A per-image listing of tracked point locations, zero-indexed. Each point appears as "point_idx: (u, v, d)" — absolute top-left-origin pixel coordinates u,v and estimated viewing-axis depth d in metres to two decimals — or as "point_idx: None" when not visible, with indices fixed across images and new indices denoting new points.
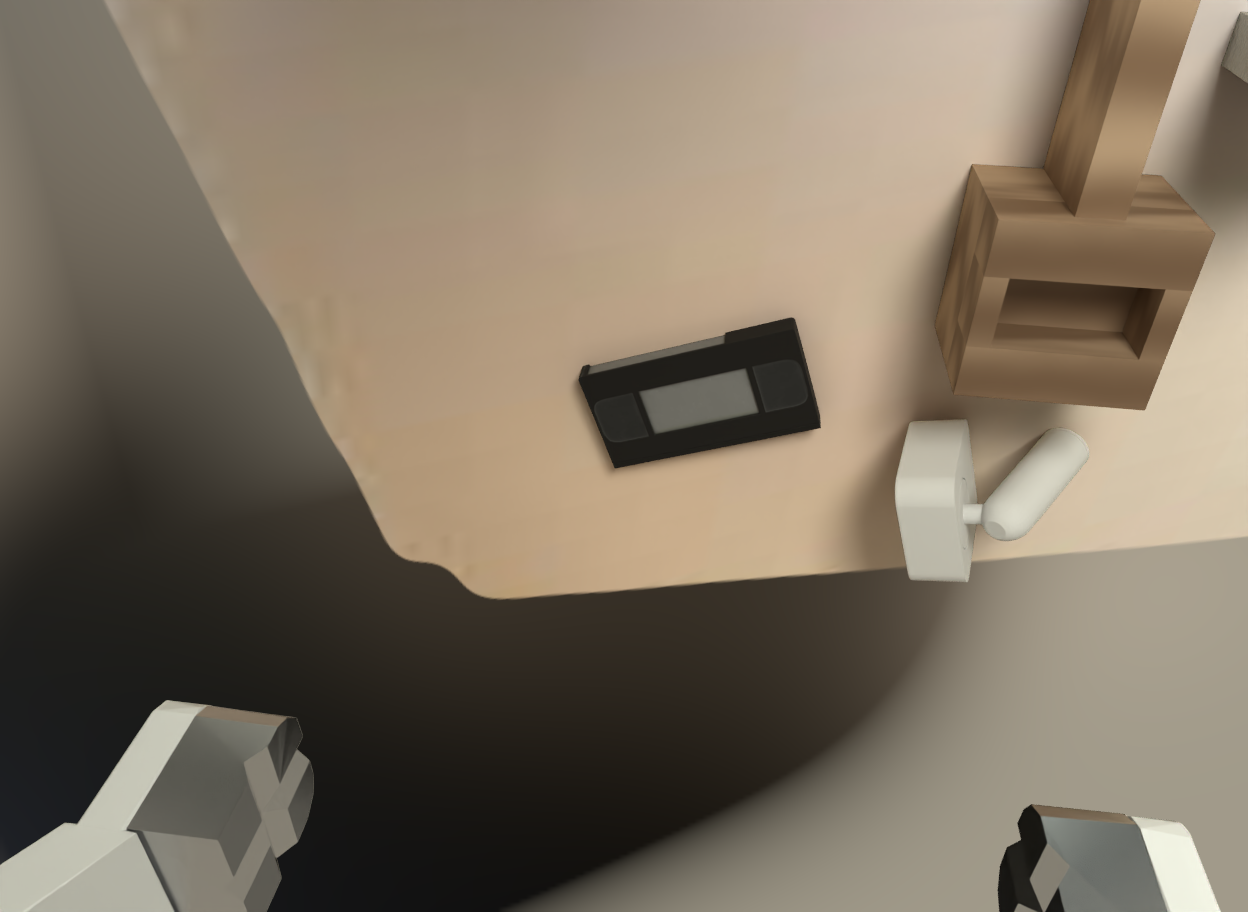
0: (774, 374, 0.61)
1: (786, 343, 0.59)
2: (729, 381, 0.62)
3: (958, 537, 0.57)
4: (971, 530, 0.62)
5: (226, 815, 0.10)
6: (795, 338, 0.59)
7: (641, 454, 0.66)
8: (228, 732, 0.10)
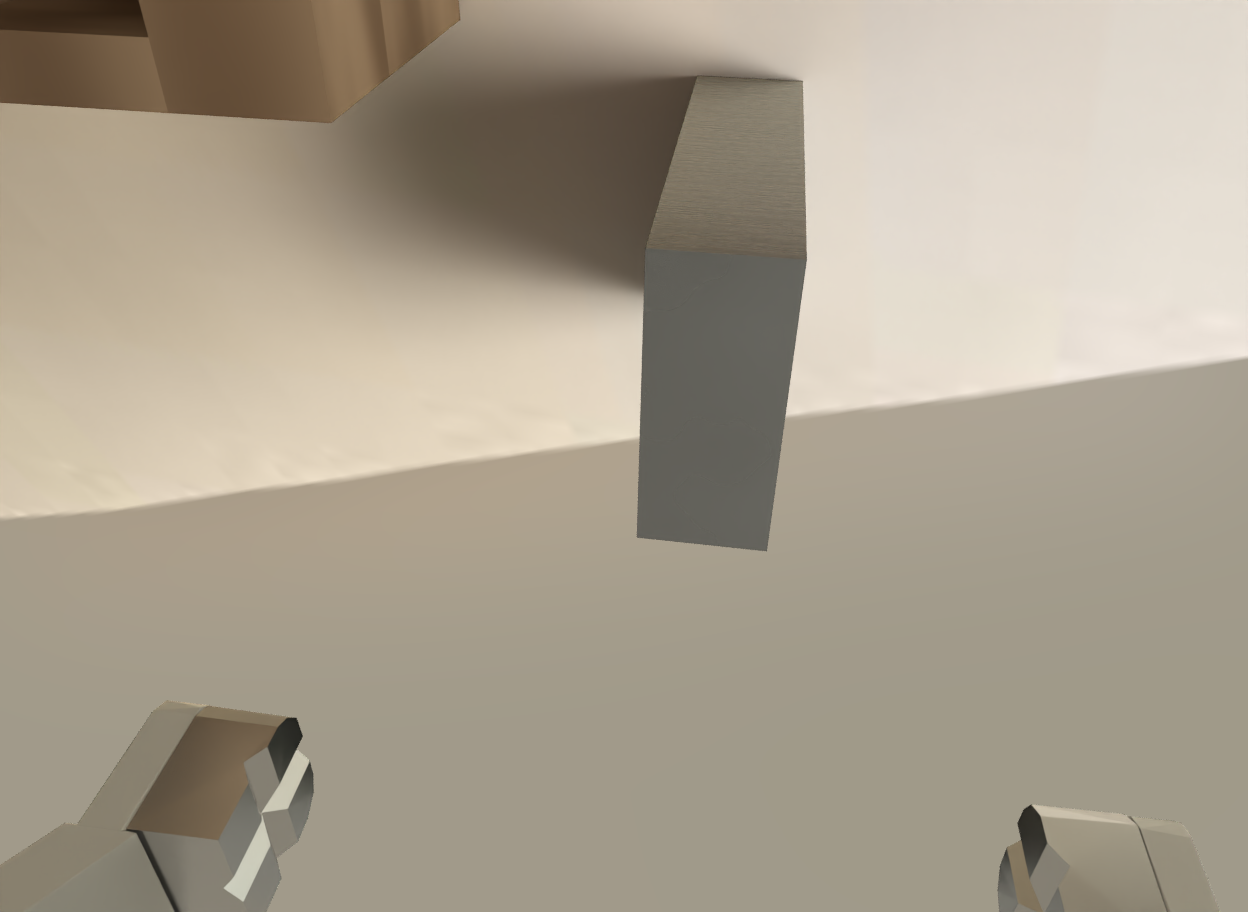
0: None
1: None
2: None
3: None
4: None
5: (226, 815, 0.10)
6: None
7: None
8: (228, 732, 0.10)
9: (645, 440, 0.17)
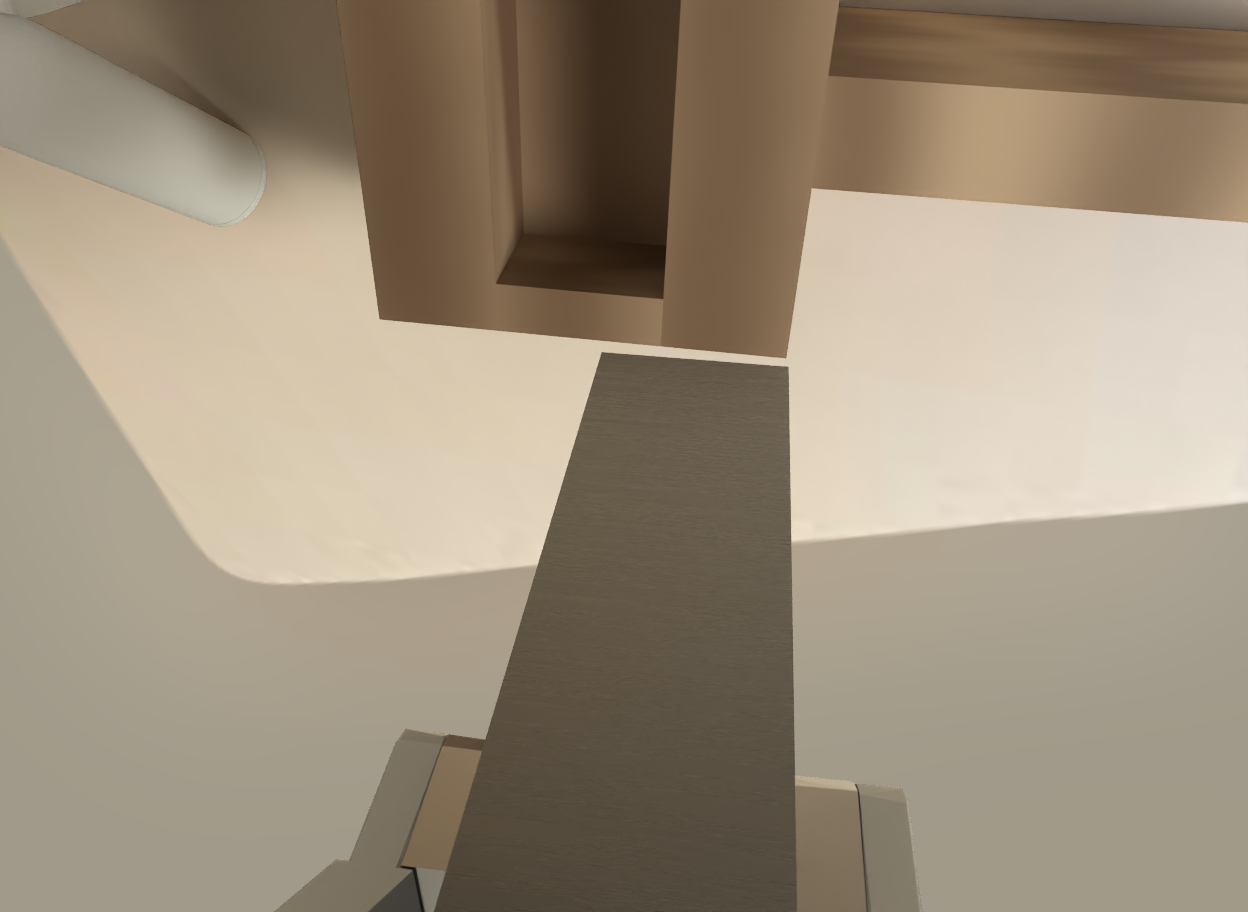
0: None
1: None
2: None
3: None
4: None
5: None
6: None
7: None
8: None
9: None
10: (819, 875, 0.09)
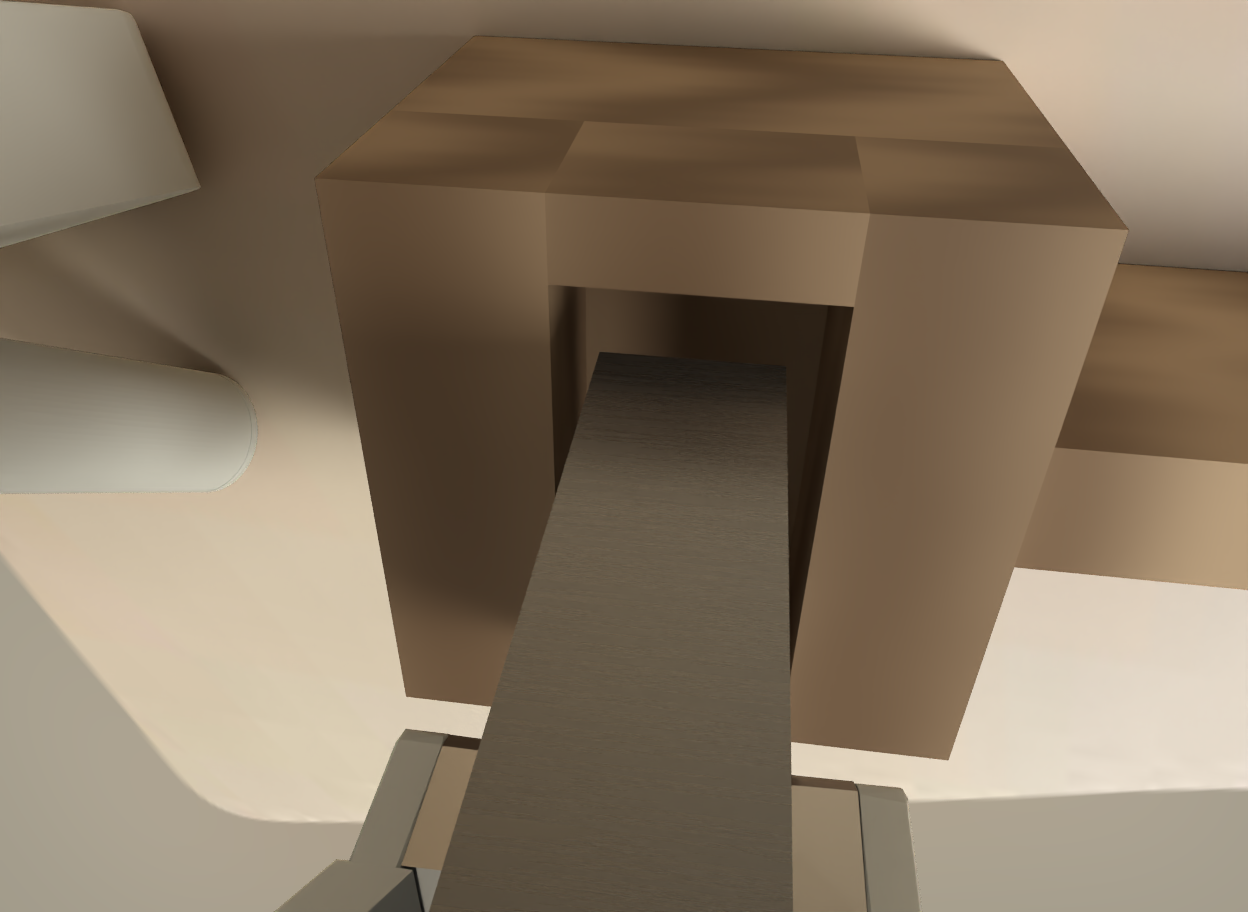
0: None
1: None
2: None
3: None
4: None
5: None
6: None
7: None
8: None
9: None
10: (819, 875, 0.09)
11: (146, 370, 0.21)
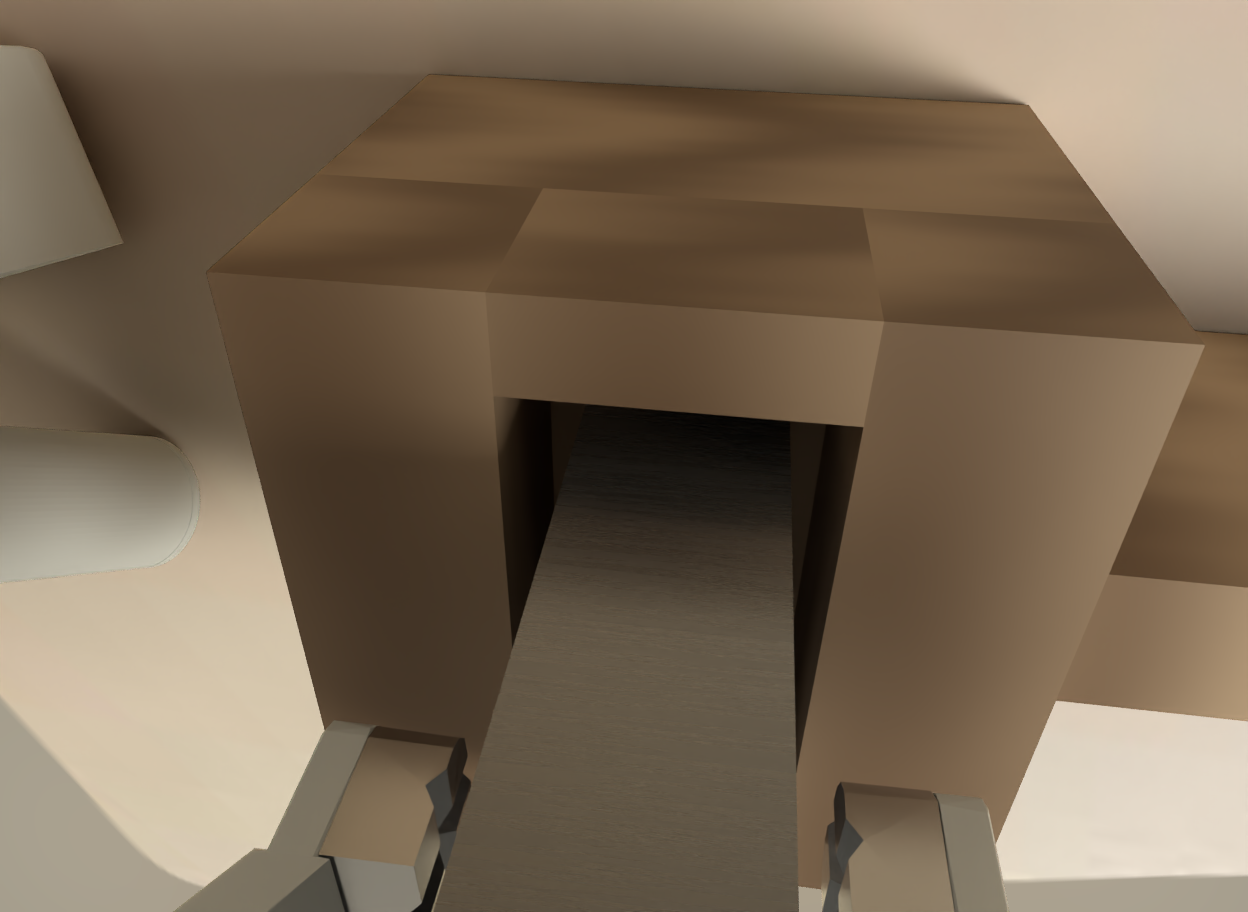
0: None
1: None
2: None
3: None
4: None
5: (417, 840, 0.09)
6: None
7: None
8: (404, 754, 0.10)
9: None
10: (906, 887, 0.09)
11: (67, 443, 0.19)
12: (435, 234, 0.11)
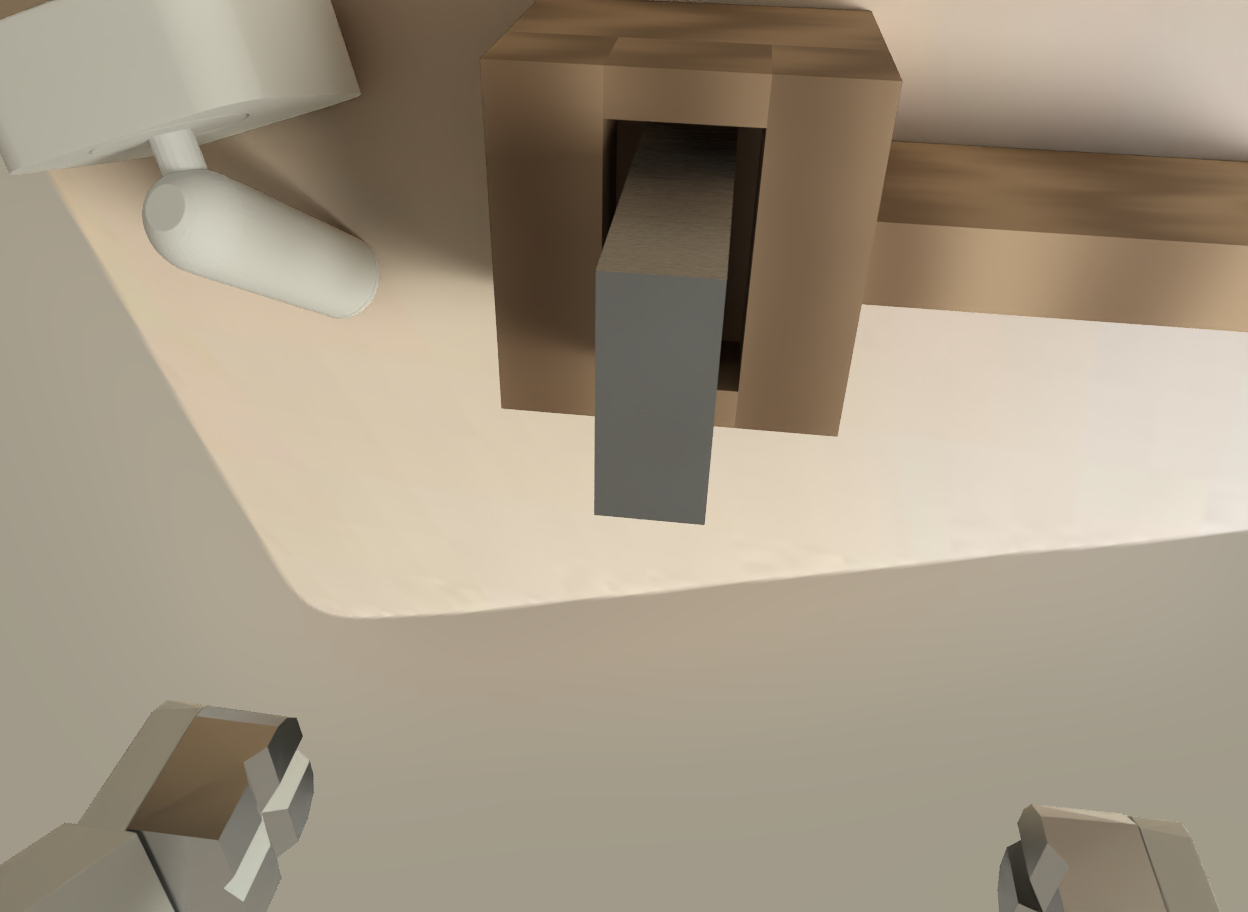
0: None
1: None
2: None
3: (119, 135, 0.25)
4: (128, 154, 0.30)
5: (226, 815, 0.10)
6: None
7: None
8: (228, 732, 0.10)
9: (599, 430, 0.20)
10: None
11: (317, 220, 0.32)
12: (574, 50, 0.24)
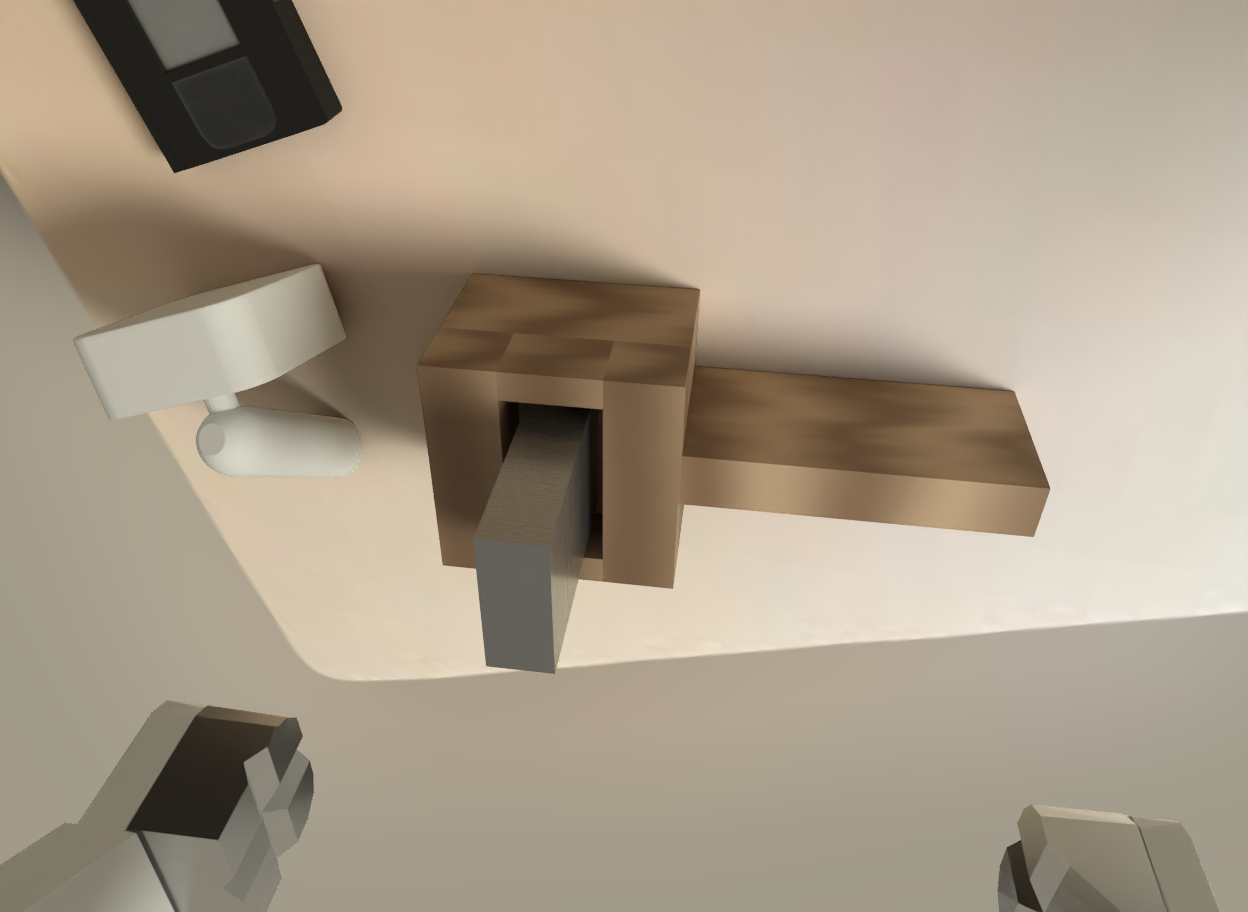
0: (243, 94, 0.37)
1: (301, 111, 0.37)
2: (206, 15, 0.36)
3: (183, 403, 0.38)
4: None
5: (226, 815, 0.10)
6: (313, 125, 0.38)
7: None
8: (228, 732, 0.10)
9: (484, 620, 0.33)
10: None
11: (316, 419, 0.45)
12: (480, 351, 0.37)
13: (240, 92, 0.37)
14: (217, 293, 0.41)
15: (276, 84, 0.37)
